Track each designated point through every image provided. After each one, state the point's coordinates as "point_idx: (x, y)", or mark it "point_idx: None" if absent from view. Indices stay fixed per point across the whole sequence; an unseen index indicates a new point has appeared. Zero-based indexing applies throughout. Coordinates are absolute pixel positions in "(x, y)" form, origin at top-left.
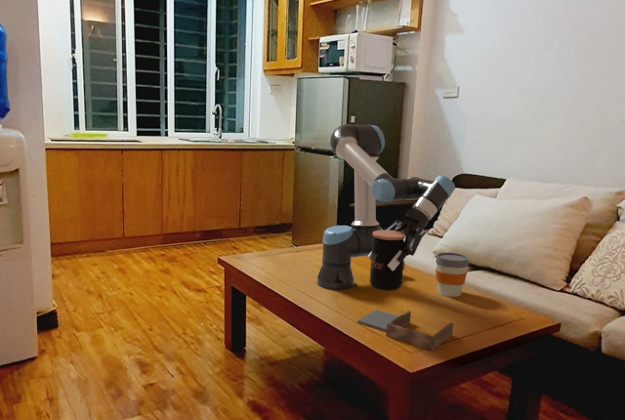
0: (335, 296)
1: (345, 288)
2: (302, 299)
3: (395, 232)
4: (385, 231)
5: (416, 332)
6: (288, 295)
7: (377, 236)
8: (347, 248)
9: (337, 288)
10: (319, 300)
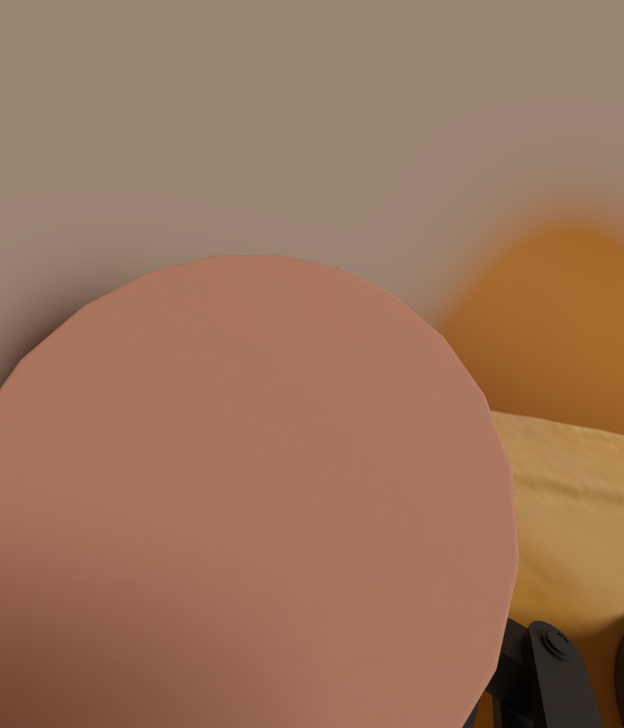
0: (546, 573)
1: (617, 694)
2: (554, 451)
3: (212, 658)
4: (391, 538)
5: None
6: (600, 441)
7: (286, 265)
8: None
9: (621, 651)
10: (528, 489)
